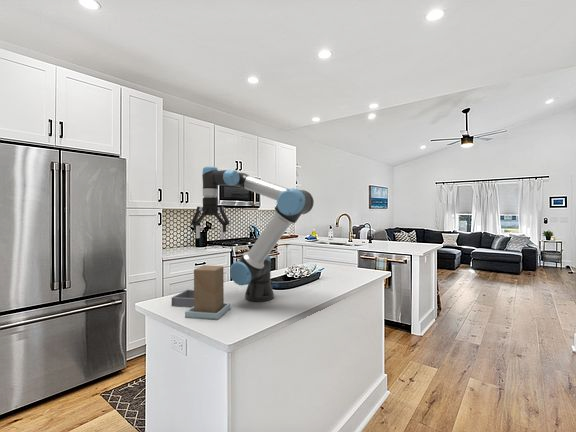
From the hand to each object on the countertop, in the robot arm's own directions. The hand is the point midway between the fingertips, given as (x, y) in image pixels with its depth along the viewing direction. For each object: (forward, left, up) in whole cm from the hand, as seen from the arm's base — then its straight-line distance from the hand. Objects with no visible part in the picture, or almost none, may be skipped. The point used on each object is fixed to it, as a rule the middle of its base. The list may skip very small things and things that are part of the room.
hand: (210, 238), depth 160 cm
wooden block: (-8, +19, -31) cm, 38 cm away
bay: (+7, +6, -32) cm, 33 cm away
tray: (-8, +20, -32) cm, 38 cm away
